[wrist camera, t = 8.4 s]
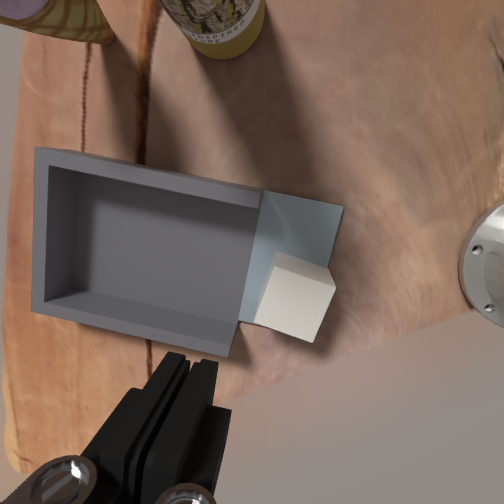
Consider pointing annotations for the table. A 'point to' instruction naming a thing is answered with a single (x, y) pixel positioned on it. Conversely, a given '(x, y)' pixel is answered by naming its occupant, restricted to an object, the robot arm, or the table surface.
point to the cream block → (295, 297)
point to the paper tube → (218, 24)
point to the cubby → (162, 247)
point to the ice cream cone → (58, 19)
